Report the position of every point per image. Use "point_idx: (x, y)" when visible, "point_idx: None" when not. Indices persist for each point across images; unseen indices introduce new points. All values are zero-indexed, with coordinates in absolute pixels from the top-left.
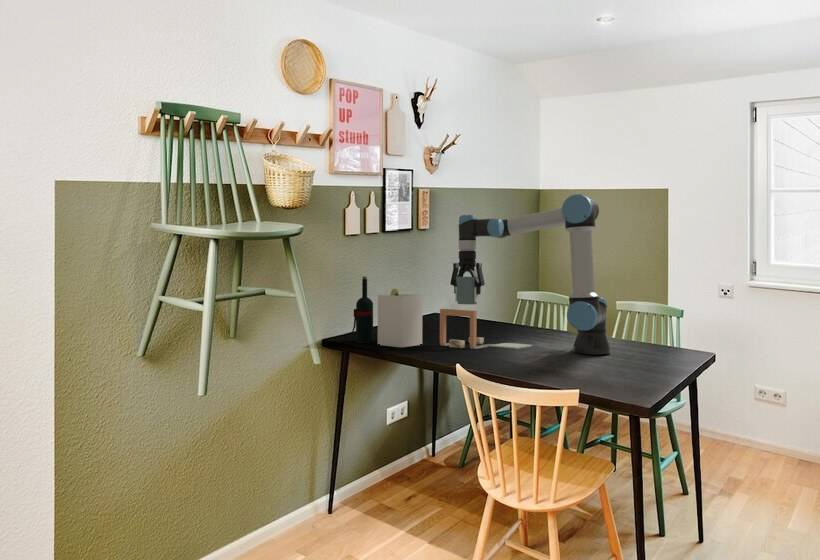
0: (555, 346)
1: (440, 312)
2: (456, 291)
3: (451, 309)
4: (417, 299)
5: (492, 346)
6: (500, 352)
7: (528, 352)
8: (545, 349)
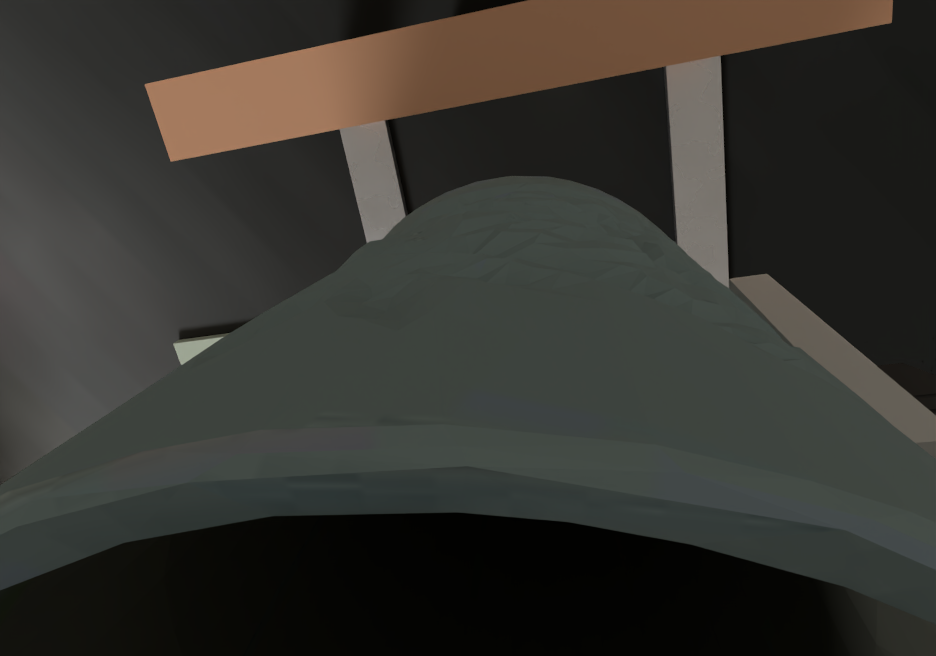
0: None
1: None
2: (827, 365)
3: (649, 45)
4: None
5: None
6: (82, 108)
7: (11, 267)
8: None
